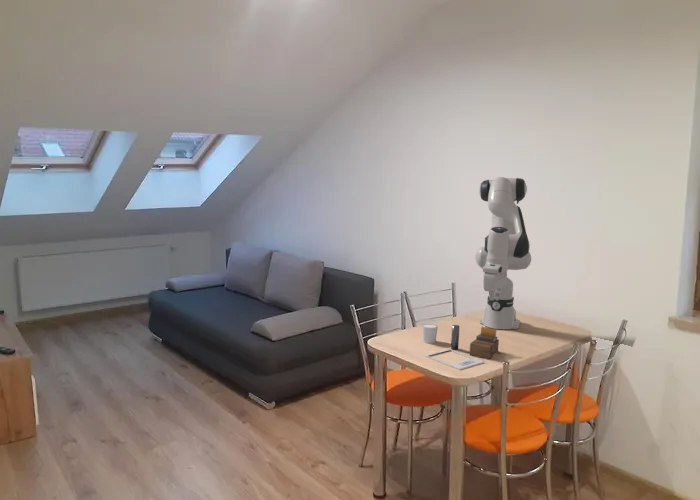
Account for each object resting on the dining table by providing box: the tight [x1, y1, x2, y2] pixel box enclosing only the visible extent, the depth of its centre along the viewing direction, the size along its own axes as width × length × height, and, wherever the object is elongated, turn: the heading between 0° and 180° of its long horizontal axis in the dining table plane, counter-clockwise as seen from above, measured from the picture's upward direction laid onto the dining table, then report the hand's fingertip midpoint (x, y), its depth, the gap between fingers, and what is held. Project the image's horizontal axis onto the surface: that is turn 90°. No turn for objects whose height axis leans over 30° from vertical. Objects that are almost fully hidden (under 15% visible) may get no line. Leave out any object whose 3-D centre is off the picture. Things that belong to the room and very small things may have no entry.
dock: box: [469, 339, 500, 360], centre depth 227 cm, size 12×8×5 cm, turn 148°
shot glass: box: [421, 323, 438, 344], centre depth 241 cm, size 7×7×7 cm
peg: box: [450, 324, 460, 351], centre depth 231 cm, size 3×3×10 cm
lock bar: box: [475, 326, 498, 343], centre depth 228 cm, size 5×7×4 cm
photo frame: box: [424, 348, 485, 371], centre depth 219 cm, size 15×1×18 cm
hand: (494, 298), depth 233 cm, fingers open, 6 cm apart
